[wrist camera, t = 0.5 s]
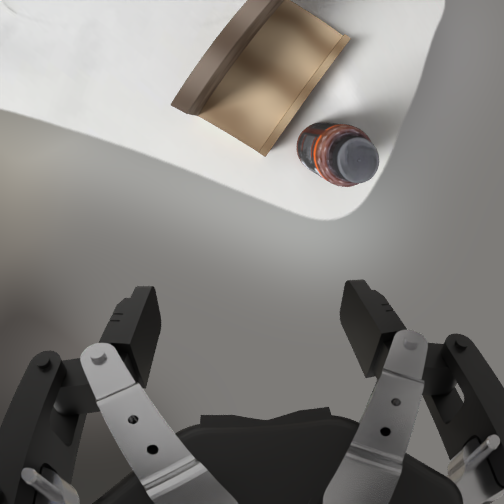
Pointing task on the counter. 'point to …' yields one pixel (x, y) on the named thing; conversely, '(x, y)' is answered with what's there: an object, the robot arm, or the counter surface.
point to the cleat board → (260, 71)
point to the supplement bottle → (338, 153)
